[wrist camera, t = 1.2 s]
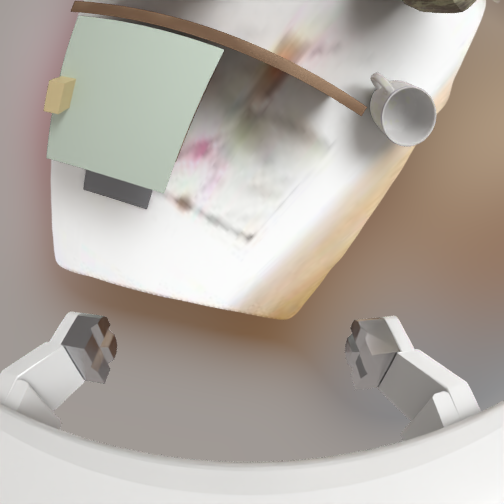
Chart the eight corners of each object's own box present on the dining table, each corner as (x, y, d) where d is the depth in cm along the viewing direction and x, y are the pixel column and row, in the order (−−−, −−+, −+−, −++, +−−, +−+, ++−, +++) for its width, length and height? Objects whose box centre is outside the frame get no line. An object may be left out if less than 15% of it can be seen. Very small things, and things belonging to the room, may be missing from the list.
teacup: (420, 114, 43) (444, 129, 37) (378, 141, 47) (398, 159, 41) (389, 52, 35) (414, 57, 29) (342, 80, 39) (361, 88, 33)
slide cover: (82, 15, 20) (66, 15, 17) (224, 49, 26) (223, 50, 23) (49, 155, 31) (36, 167, 28) (165, 190, 38) (159, 205, 35)
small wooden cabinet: (112, 7, 27) (74, 0, 17) (334, 88, 40) (367, 107, 30) (76, 126, 40) (38, 155, 30) (272, 191, 53) (282, 234, 43)
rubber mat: (91, 143, 43) (90, 144, 42) (160, 164, 47) (160, 165, 47) (84, 188, 48) (83, 189, 48) (147, 207, 53) (146, 209, 53)
